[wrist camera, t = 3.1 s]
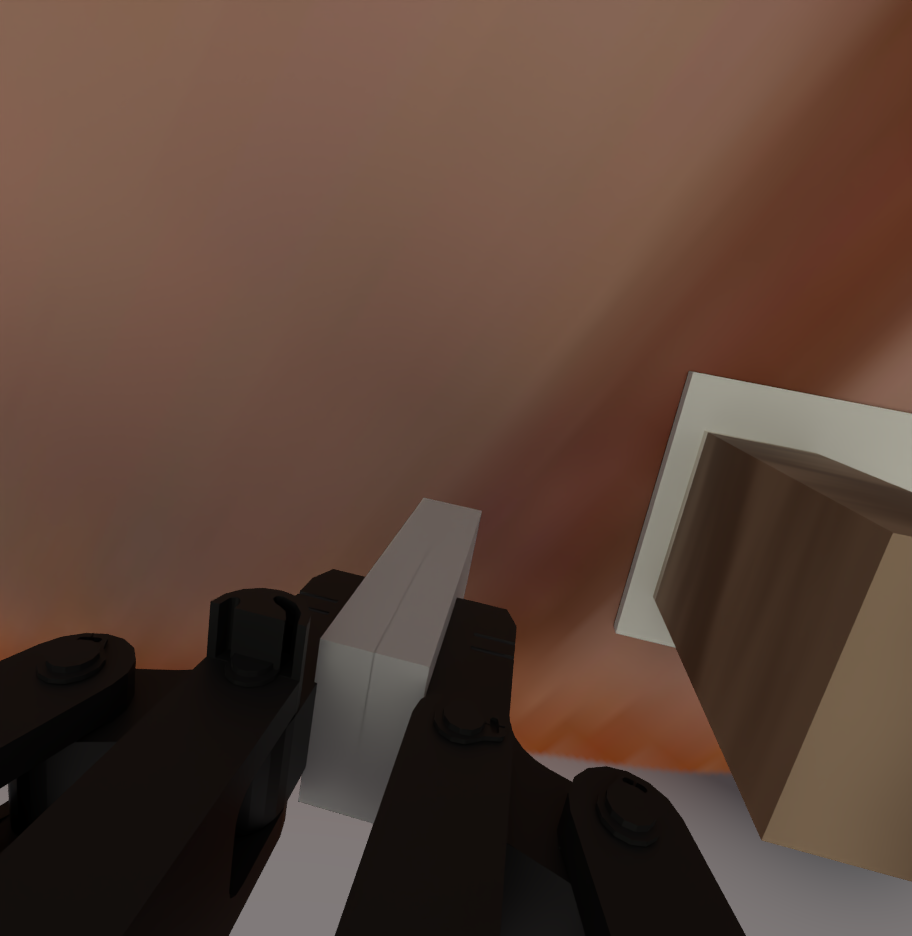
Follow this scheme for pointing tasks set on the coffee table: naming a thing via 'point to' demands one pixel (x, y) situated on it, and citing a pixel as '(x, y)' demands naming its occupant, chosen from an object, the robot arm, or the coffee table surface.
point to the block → (801, 643)
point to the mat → (761, 419)
